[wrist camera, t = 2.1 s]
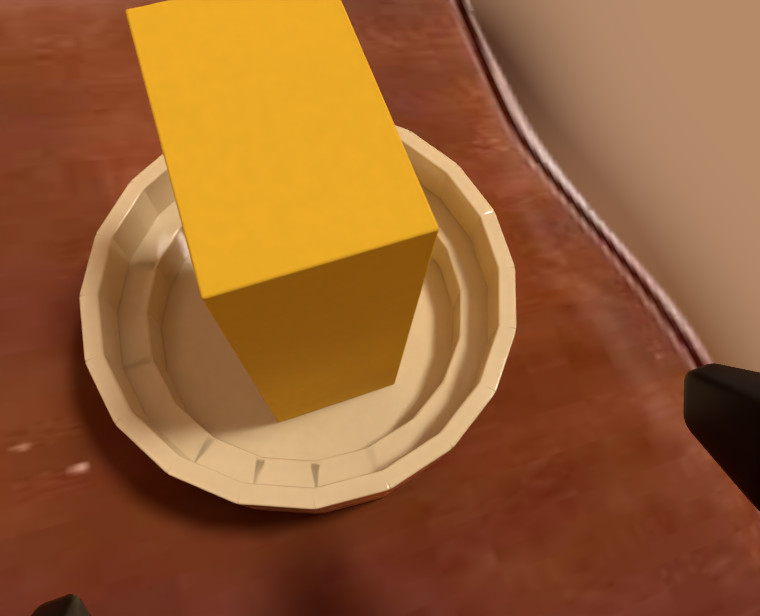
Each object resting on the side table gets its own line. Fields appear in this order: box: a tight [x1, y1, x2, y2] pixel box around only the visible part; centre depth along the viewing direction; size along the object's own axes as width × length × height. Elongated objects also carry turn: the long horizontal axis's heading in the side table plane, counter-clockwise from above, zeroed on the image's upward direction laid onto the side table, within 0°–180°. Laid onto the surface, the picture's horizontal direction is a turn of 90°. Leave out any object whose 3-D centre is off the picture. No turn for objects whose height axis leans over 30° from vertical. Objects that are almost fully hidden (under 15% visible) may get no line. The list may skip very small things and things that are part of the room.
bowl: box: [79, 125, 516, 514], centre depth 22 cm, size 14×14×4 cm
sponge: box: [126, 0, 439, 422], centre depth 17 cm, size 7×4×12 cm, turn 19°
